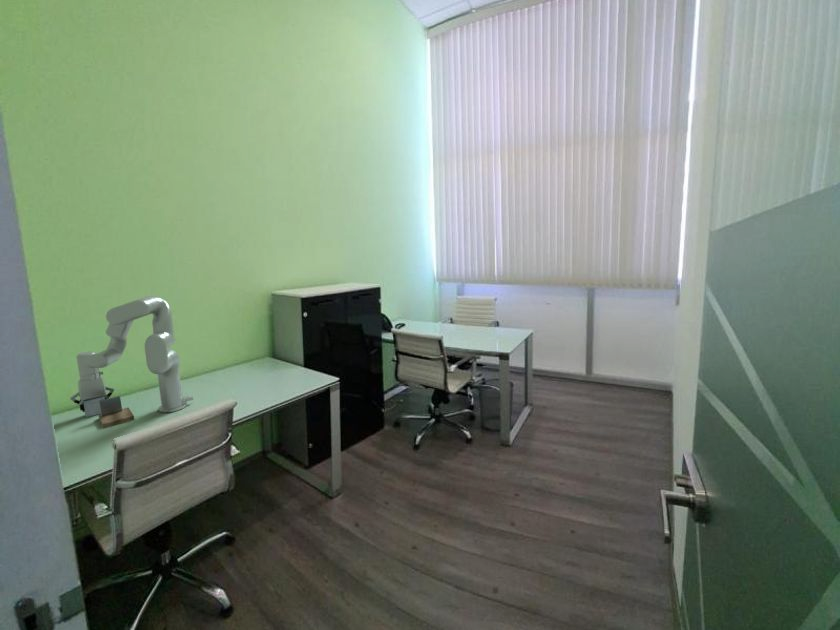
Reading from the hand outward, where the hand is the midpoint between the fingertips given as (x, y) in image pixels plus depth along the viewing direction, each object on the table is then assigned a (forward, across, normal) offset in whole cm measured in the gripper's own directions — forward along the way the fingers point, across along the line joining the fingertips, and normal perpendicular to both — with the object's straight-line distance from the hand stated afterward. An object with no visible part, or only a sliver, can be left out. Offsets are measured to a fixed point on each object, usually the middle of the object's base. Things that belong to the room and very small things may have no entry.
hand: (95, 408), depth 192 cm
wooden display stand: (+3, -6, +15) cm, 17 cm away
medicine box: (+3, 0, 0) cm, 3 cm away
